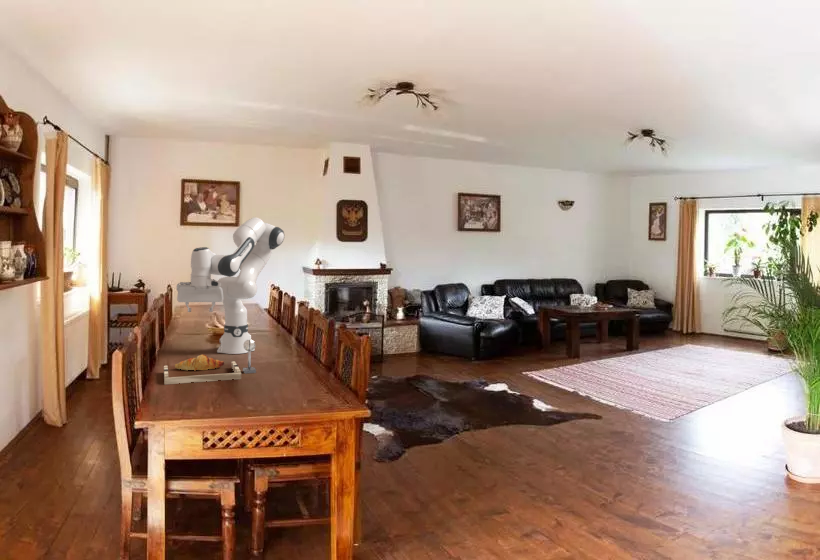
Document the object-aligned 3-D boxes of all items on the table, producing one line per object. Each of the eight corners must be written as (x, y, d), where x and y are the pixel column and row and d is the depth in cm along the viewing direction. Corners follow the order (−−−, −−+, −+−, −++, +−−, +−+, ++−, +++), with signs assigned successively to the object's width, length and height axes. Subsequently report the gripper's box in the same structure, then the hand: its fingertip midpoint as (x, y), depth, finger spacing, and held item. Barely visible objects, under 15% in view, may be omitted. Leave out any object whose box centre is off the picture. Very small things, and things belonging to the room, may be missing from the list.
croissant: (174, 379, 257) (172, 365, 253) (176, 364, 265) (174, 350, 261) (224, 375, 263) (223, 362, 259) (224, 361, 271) (224, 348, 267)
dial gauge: (242, 371, 260) (242, 339, 259) (254, 370, 262) (254, 338, 261) (244, 373, 255) (244, 341, 254) (255, 372, 257) (256, 340, 256)
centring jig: (163, 372, 254) (163, 364, 253) (235, 367, 266) (235, 360, 265) (164, 384, 233) (164, 376, 233) (241, 378, 245) (241, 370, 245)
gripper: (176, 282, 262) (176, 312, 263) (224, 282, 271) (223, 312, 272) (176, 281, 268) (176, 311, 269) (222, 281, 277) (222, 310, 277)
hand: (200, 311), depth 270 cm, fingers open, 8 cm apart
